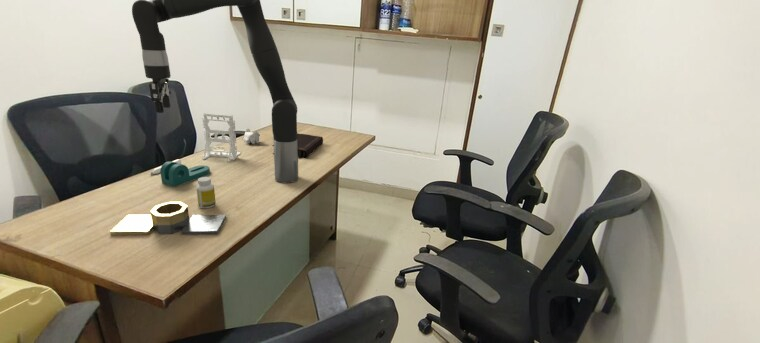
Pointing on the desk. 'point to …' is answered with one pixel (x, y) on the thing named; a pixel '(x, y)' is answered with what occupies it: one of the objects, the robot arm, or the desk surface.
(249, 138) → the elephant figurine
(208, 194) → the supplement bottle
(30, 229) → the desk surface
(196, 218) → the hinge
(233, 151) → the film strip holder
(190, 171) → the bracket
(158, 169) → the marker
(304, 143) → the diary
